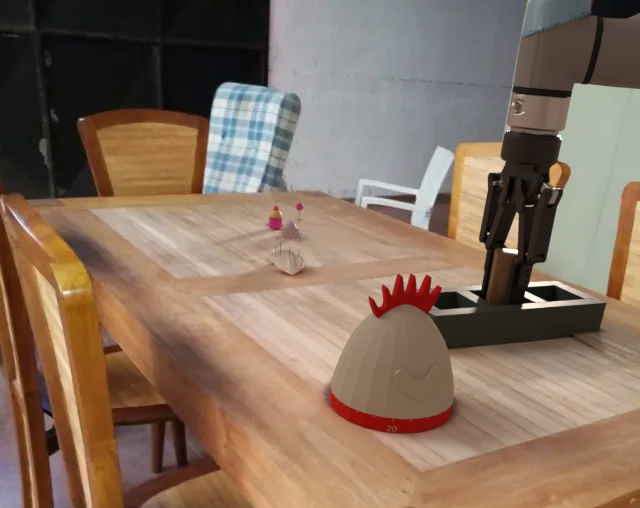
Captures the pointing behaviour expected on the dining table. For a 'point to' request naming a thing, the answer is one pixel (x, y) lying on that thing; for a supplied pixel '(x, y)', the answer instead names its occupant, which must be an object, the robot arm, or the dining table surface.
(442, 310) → the socket bar
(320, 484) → the dining table surface
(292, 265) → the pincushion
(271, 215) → the toys
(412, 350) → the kitchen timer
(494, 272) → the wooden block
